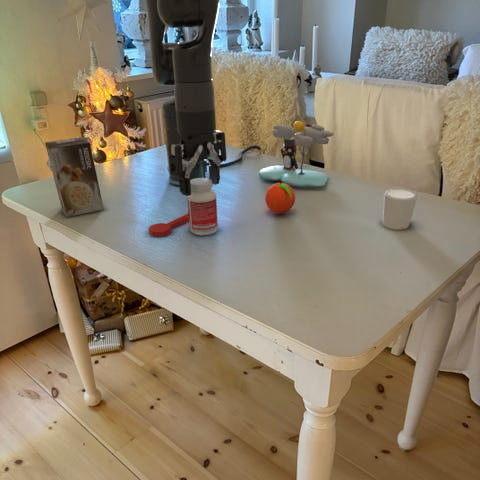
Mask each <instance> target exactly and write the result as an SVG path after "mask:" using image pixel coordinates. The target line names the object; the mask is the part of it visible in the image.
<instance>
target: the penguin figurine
mask: <svg viewBox="0 0 480 480" xmlns="http://www.w3.org/2000/svg"><path fill="white" fill-rule="evenodd" d="M273 129H274V130H273V132H272V136H273V137H274V138H277V139H282V140H283V144H282V146H283V147H282V148H281V149H280V153H281V156H282V160H283V161H282V164H283V165H272V166H267V167H263V168H262V169H260V170H259V171H258V176H259V177H260V178H261V179H263V180H266V181H272V182H278V181H279V182H280V181H281V183H285V184H287V185H289V186H290V187H294V188H295V187H296V188H303V189H305V188H322V187H324V186H326V185H327V184H328V181H329V180H330V176H329V175H327V174H325V173H323V172H320V171H314V170H310V169H307V168H309V166H310V162H308V163H306V165H305V169H303V165H304V164H305V162H304V160H305V155H306V156H308V154H309V152H308V151H307V150H306V149H307V148H308V149H309V148H310V147H311V145H312V144H313V145H316V144H319V145H328V144H329V143H330V137H333V136H334V132H333V131H330V130H326V129H325V127H324V126H322V125H320V124H312V125H311V126H306V125H305V123H304V122H303V121H301V120H297V121H295V122H294V123H293V127H292V126H290V125H287V124H284V125H283V124H277V123H276V124H274V125H273ZM293 135H294V137H293ZM295 139H296V140H295ZM296 146H297V147H298V148H296ZM301 147H302V149H301ZM297 150H299V151H298V153H299V154H300V155H301V156H300V158H296V155H295V154H296V151H297ZM271 154H272V155H274V152H273V151H272V152H271ZM299 160H301V163H299V164H298V162H299ZM312 160H316V158H315V157H312ZM298 165H299V166H300V167H299V166H298Z"/></svg>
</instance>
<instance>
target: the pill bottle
mask: <svg viewBox="0 0 480 480" xmlns="http://www.w3.org/2000/svg"><path fill="white" fill-rule="evenodd" d="M190 183H191V195H189V196H186V201H187V211H188V212H187V214H188V213H189V221H188V222H189V223H188V226H189V231H190V232H191V233H192V234H193V235H196V236H209V235H212V234H215V233H216V232H217V231H218V228H219V223H218V205H217V193H216V191H214V190H213V184H212V180H211V179H209V177H208V178H207V177H206V178H196V179H192V180H190Z"/></svg>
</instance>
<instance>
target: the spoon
mask: <svg viewBox="0 0 480 480" xmlns="http://www.w3.org/2000/svg"><path fill="white" fill-rule="evenodd" d="M188 222H189V213H188V212H187V214H184V215H182V216H179V217H177V218H175V219H173V220H171V221H168V222H157V223H153V224H151V225H150V226H149V227H148V233H149V235H150V236H151V237H154V238H163V237H167V236H170V234H171V233H172V230H173V229H176V228H177V227H179V226H181V225H184V224H185V223H188Z"/></svg>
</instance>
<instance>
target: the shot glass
mask: <svg viewBox="0 0 480 480" xmlns="http://www.w3.org/2000/svg"><path fill="white" fill-rule="evenodd" d="M417 199H418V193H416V192H415V191H413V190H409V189H405V188H390V189H387V190H385V191H384V193H383V207H382V209H383V210H382V225H383V226H384V227H385V228H388V229H390V230H399V231H400V230H405V229H408V228H409V227H410V224H411V220H412V217H413V213H414V210H415V206H416V203H417Z"/></svg>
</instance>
